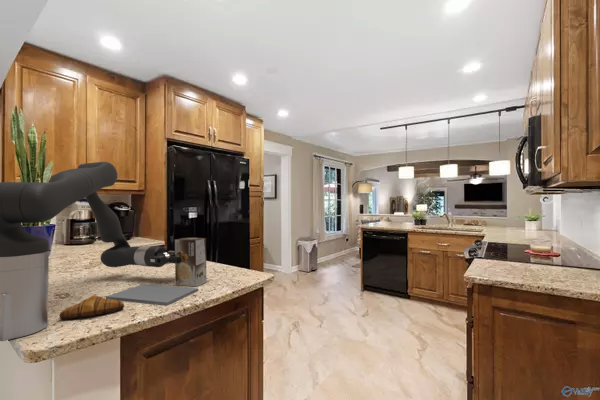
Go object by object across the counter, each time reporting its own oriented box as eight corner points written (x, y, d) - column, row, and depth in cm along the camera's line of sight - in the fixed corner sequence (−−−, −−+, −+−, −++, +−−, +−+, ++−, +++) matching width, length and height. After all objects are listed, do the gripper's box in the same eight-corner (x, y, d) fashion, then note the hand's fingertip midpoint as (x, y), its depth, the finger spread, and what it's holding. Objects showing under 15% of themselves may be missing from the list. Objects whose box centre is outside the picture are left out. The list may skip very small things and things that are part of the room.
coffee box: (207, 282, 103) (207, 237, 103) (196, 287, 97) (196, 239, 97) (186, 280, 105) (186, 237, 106) (174, 285, 99) (174, 239, 100)
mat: (166, 305, 79) (166, 302, 79) (105, 299, 85) (105, 296, 85) (198, 290, 92) (198, 288, 92) (143, 286, 98) (143, 283, 98)
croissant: (124, 306, 79) (124, 288, 79) (123, 314, 73) (123, 294, 73) (62, 315, 72) (62, 296, 72) (55, 325, 66) (56, 304, 67)
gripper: (135, 249, 99) (174, 250, 95) (165, 243, 113) (200, 244, 109) (135, 270, 99) (174, 273, 95) (165, 262, 113) (200, 264, 108)
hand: (188, 258), depth 102 cm, fingers open, 8 cm apart
